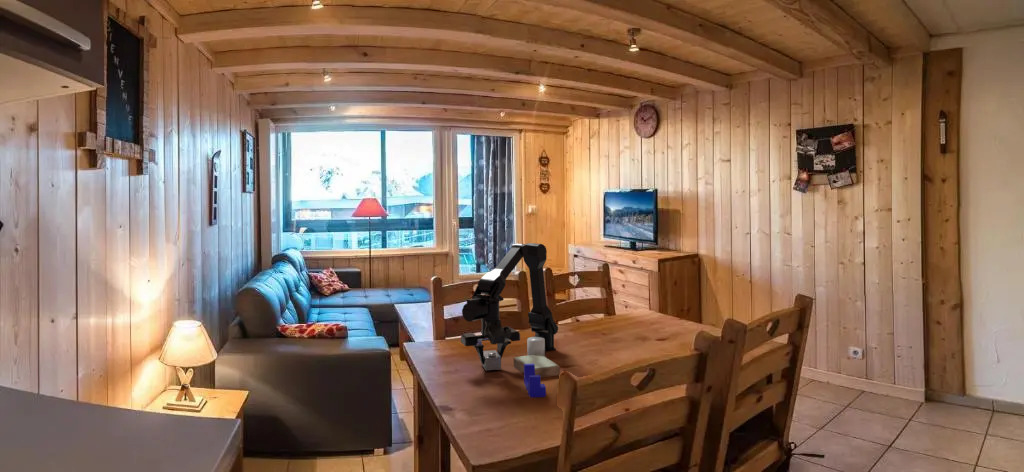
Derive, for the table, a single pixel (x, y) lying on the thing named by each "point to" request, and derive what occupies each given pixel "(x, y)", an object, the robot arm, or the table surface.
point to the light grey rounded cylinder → (536, 346)
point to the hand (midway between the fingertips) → (490, 363)
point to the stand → (538, 365)
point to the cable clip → (533, 382)
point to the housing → (491, 360)
